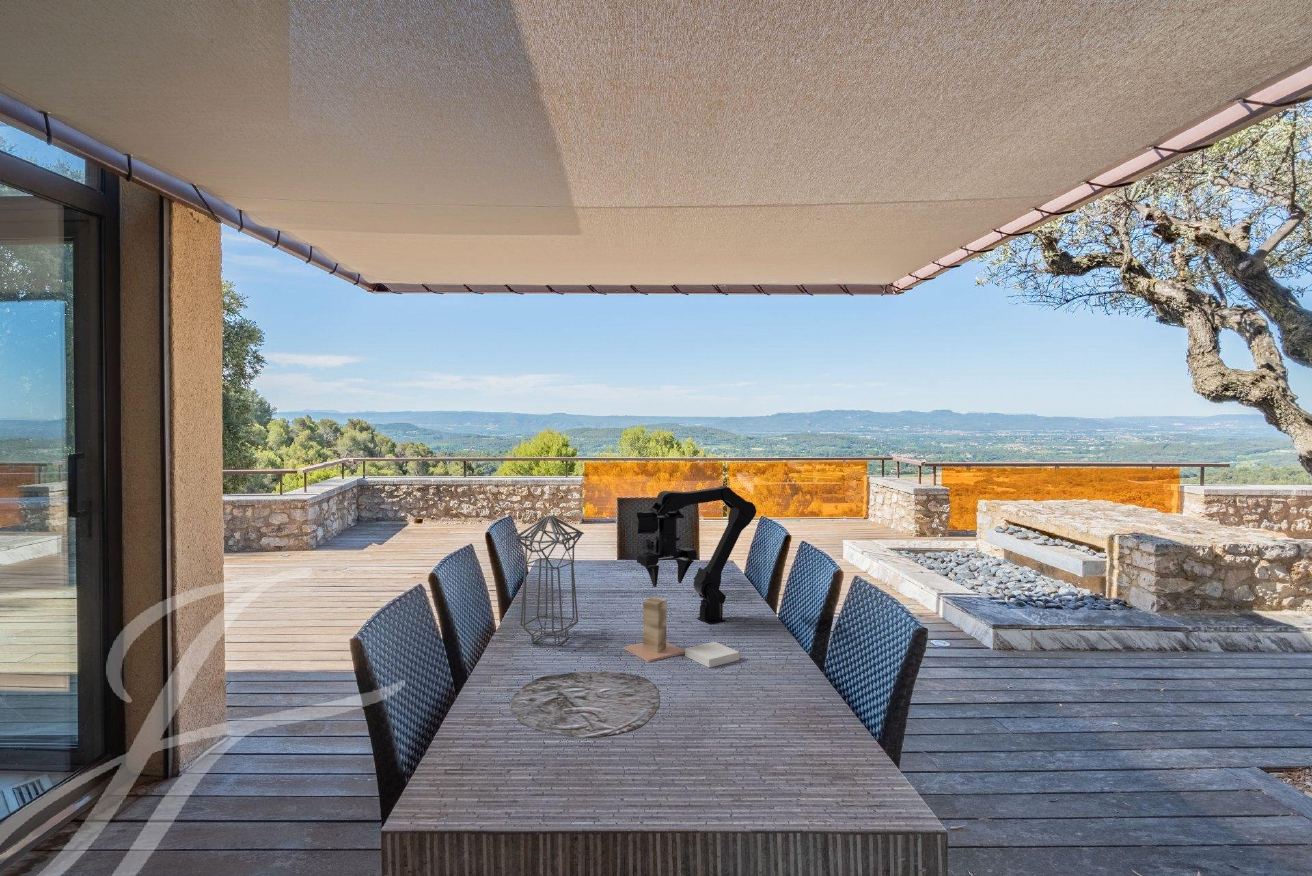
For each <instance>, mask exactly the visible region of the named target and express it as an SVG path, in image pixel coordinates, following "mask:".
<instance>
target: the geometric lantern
mask: <svg viewBox="0 0 1312 876" xmlns="http://www.w3.org/2000/svg"><path fill="white" fill-rule="evenodd" d="M548 522H549V523H550V526H551V527H550V528H551V530H547V529H546V528H547V526H548ZM562 525H563V526H565V527H568V528H569V529H571V530H573V531H568V530H566V529H565V528H564V527H563V526H562ZM527 532H528V533H527ZM540 532H541V536H540V538H539V540H535V538H536V537H537V535H538V534H539V533H540ZM526 533H527V534H526ZM524 534H525V535H524ZM550 534H553V535H554V537H552V536H551V535H550ZM572 534H573V535H572ZM584 534H585V533H584V532H583V531H581V530H579V529H578V528H575V527H573V526H572V525H570V524H568V523H566V522H565V521H562V520H561V519H559V518H557V517H555V516H553V515H546V516H545V517H544V518H542V519H540V520H538V521H537V522H535V523H534V524H533V525H531V526H529V527H528V528H526V529H525V530H523V531H521V532H520V533H518V534H516V535H514V537H513V539H514V540H516V542H518V543H519V544H521V546H523V547H524V552H525V553H524V570H523V582H522V584H523V585H522V594H521V608H520V620H519V621H520V623H519V627H520V629H522V630H524V631H525V632H526V633H527V634H529V635H530V637H531V638H530V642H531V643H532V644H541V645H550V646H559V645H561V644H562V643H564V642H565V641H566V640H568V639H569V638H570V637H569V631H570V630H571V629H572V628H573V627H575V625H577V624H578V623H579V614H578V604H577V603H578V602H577V592H576V591H577V590H576V581H575V579H576V578H575V569H574V566H575V565H574V564H575V547H576V546H575V545H576V544H577V542H579V540H580V538H581V537H582V536H583V535H584ZM544 535H546V536H547V537H548V538H549V539H551V540H543V537H544ZM560 536H561V540H560ZM570 541H572V545H571V544H570ZM527 542H529V544H527ZM534 543H535V544H536V543H537V544H538V548H539V549H536V547H535V546H534ZM546 543H548V544H547V545H546V546H544V547H543V548H542V547H541V544H546ZM549 543H550V544H549ZM557 544H560V545H563V548H564V549H565V551H564V552H563V555H562V556H561V558H554V557H553V558H552V557H550V556H551V554H552V552H553V551H554V549H555V547H556V546H557ZM570 545H571V546H570ZM551 546H552V548H551V550H550V551H549V553H548V554H546V553H545V550H546V549H549V547H551ZM567 546H568V547H567ZM570 550H572V555H571V554H570V552H569V551H570ZM528 551H529V552H530V554H529V556H528ZM533 553H536V554H537V556H538V557H539V558H537V559H534V560H531V561H530V559H531V557H532V554H533ZM540 553H542V555H543V557H542V556H541V554H540ZM566 553H567V554H568V556H569V557H568V558H569V559H566V558H565V556H566ZM550 560H554V561H559V563H558V564H557V566H553V565H552V562H550ZM537 561H539V565H529V564H532V563H535V562H537ZM542 561H545V566H542ZM562 561H568V562H569V563H566V564H563V565H561V562H562ZM548 564H549V566H548ZM560 565H561V566H560ZM569 565H570V571H571V572H570V573H571V577H570V579H571V580H570V581H571V602H572V603H571V607H572V617H568V616H567V617H566V616H563V609H562V608H563V607H562V591H561V590H562V589H561V576H560V574H561V573H560V571H561V570H560V569H562V568H564V567H566V566H569ZM527 567H528V568H529V567H530V568H538V585H537V587H538V588H537V602H536V603H537V604H536V616H535V617H534V618H532V619H530V620H528V621H526V611H527V610H526V609H527V606H526V603H527V600H526V599H527V569H528V568H527ZM542 569H545V609H544V610H545V615H539V613H540V593H541V578H542V577H541V576H542V573H541V572H542ZM548 569H550V593H551V595H550V596H551V597H550V598H551V599H550V601H551V607H550V608H551V615H548V573H549V572H548ZM553 570H557V584H558V585H557V586H558V599H559V601H558V602H559V615H560V616H557V615H555V616H554V575H553V573H554V571H553ZM542 618H545V620H544V626H543V625H542V623H541V620H540V619H542ZM547 618H549V619H550V618H551V626H546V625H547ZM554 619H558V620H559V619H560V627H554V625H555V623H554V622H555V621H554ZM535 620H537V621H538V624H539V625H540V628H531V627H526V625H528V624H529V623H531V622H533V621H535ZM563 620H571V621H570V623H569V624H568V625H567V626H565V627H564V622H563ZM546 629H547V630H546ZM548 629H549V630H548ZM531 631H533V633H532V632H531ZM538 632H540V634H536V633H538ZM557 633H559V634H557ZM547 635H548V636H547ZM561 637H565V638H564V639H563V640H560V638H561ZM539 638H547V639H548V638H549V639H553V640H554V643H550V642H541V641H535V640H536V639H539Z"/></svg>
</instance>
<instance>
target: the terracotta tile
mask: <svg viewBox="0 0 1312 876" xmlns="http://www.w3.org/2000/svg"><path fill="white" fill-rule="evenodd" d="M623 650H625V651H627V653H628V652H629V653H631V654H632V655H634V656H636V657H638V658H640V659H641V660H643V661H645V662H648V663H650V662H655V661H660V660H662V659H668V658H671V657H676V656H680V655H685V649H683V648H681V647H678V646H677V645H674V644H673V643H670V642H668V641H666V648H665V649H664V650H662V651H660V652H658V653H656V652H651V651H647V650H643V642H639V643H635V644H634V643H633V644H631V645H630V644H629V645H625V646H624V645H623Z"/></svg>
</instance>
